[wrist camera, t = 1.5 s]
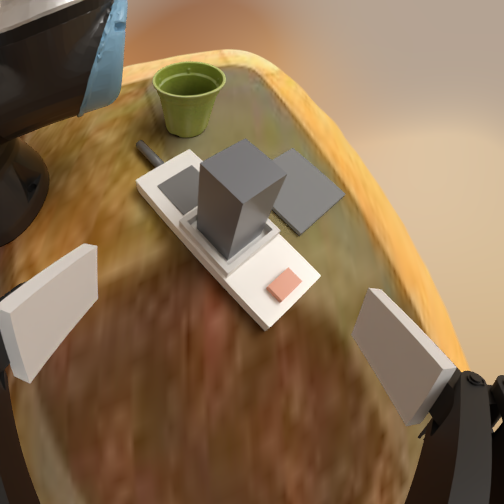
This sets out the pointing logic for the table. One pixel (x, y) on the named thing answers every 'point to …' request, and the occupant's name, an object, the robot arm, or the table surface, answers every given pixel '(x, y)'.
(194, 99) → the plant pot
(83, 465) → the table surface
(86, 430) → the table surface
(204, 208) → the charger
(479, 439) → the robot arm
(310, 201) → the pad
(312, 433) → the table surface
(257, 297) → the white slab
